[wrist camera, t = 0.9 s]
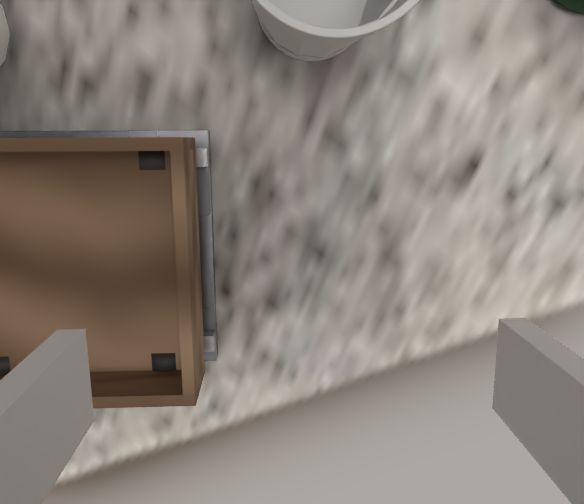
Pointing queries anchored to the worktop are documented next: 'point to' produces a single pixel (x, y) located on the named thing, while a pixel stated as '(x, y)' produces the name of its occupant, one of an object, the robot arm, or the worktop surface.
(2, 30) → the foam cup
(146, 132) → the grey metal tray
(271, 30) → the cup
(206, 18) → the worktop surface
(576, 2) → the coffee jar
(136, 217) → the open wooden crate
